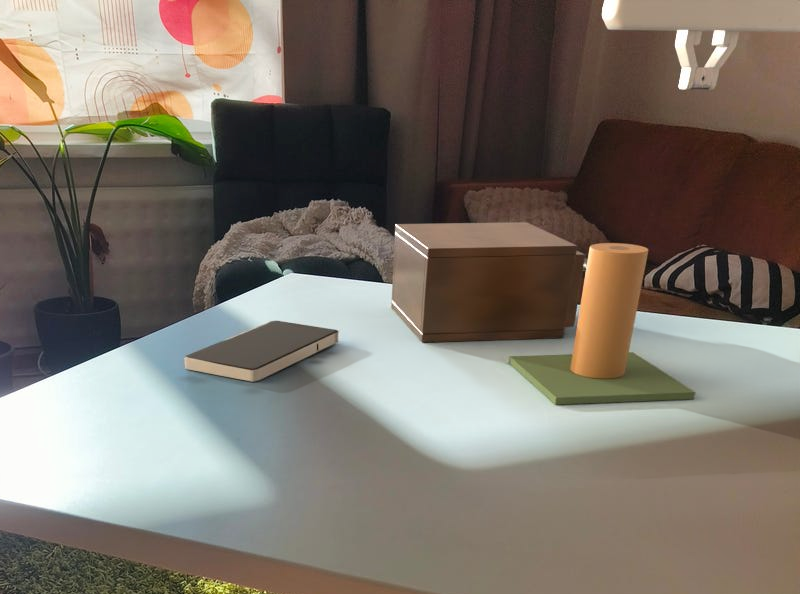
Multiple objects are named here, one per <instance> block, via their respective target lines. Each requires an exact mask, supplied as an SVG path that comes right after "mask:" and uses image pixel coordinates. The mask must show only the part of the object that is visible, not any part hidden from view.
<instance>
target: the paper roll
mask: <svg viewBox="0 0 800 594" xmlns="http://www.w3.org/2000/svg"><path fill="white" fill-rule="evenodd" d="M648 254H649V248H647V247H645V246H641V245H639V244H632V243H622V242H621V243H619V242H602V243H595V244H591V245H590V246H589V250H588V256H587V259H588V261H587V268H586V274H585V277H584V280H583V285H582V286H583V287H582V294H581V299H580V304H579V305H580V306H579V312H578V319H577V325H576V329H575V335H574V336H575V337H574V342H573V343H574V344H573V349H572V354H573V355H572V361H571V367H570V369H571V371H572V372H573V373H575V374H578V375H580V376H584V377H589V378H597V379H611V378H618V377H621V376H623V375H624V373H625V368H626V363H627V358H628V353H629V352H630V347H631V342H632V337H633V331H634V326H635V321H636V316H637V311H638V307H639V301H640V295H641V290H642V285H643V282H644V281H643V280H644V275H645V270H646V265H647V261H648V260H647V259H648Z"/></svg>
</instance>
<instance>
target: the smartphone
mask: <svg viewBox="0 0 800 594" xmlns="http://www.w3.org/2000/svg"><path fill="white" fill-rule="evenodd" d="M337 343H339V331H338V329H334V328H327V327H321V326H315V325H309V324H301V323H296V322H289V321H282V320H270V321H268V322H265V323H263V324H260V325H258V326H256V327H253V328H251V329H249V330H246V331H243V332H240V333H238V334H236V335H233V336H231V337H228V338H226V339H223V340H221V341H219V342H216V343H214V344H212V345H209V346H207V347H204V348H201V349H199V350H196V351H194V352H191V353H188V354H186V355H185V356H184V357H183V358H184V360H183V361H184V369H185V370H189V371H194V372H195V371H196V372H200V373H205V374H211V375H214V376H215V375H216V376H220V377H226V378H231V379H237V380H242V381H245V382H253V383H254V382H258V381H261V380H263V379H264V378H267V377H269V376H271V375H273V374H275V373H277V372H279V371H281V370H283V369H285V368H288V367H289V366H292V365H294V364H295V363H298V362H300V361H302V360H304V359H306V358H309V357H310V356H312V355H314V354H316V353H318V352H321V351H322V350H324V349H326V348H329V347H332V346H333V345H334V344H337Z"/></svg>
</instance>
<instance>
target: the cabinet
mask: <svg viewBox="0 0 800 594" xmlns="http://www.w3.org/2000/svg"><path fill="white" fill-rule="evenodd" d="M393 243H394V245H393V265H392V283H391V284H392V287H391V306H390V307H391V309H392V310H393V312H395V313H396V315H397V316H398V317H399V318H400V319H401V321H403V323H404V324H405V325H406V326H407V327H408V328H409V330H410V331H411V333H413V334H414V335H415V336H416V338H417V339H419V341H420V342H421V343H447V342H449V343H450V342H477V341H478V342H480V341H508V340H509V341H510V340H539V339H540V340H542V339H543V340H544V339H564V337H565V329H566V327H565V324H566V317H567V311H568V304H569V298H570V291H571V285H572V278H573V272H574V265H575V259H576V253H577V251H578V245H577V244H574V243H572V242H571V241H568V240H566V239H564V238H561V237H559V236H557V235H555V234H552V233H551V232H548V231H546V230H545V229H542V228H540V227H538V226H535V225H534V224H531V223H529V222H527V221H521V222H520V221H519V222H516V221H515V222H514V221H513V222H462V223H461V222H459V223H458V222H455V223H454V222H453V223H451V222H449V223H446V222H445V223H395V225H394V242H393Z"/></svg>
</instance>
